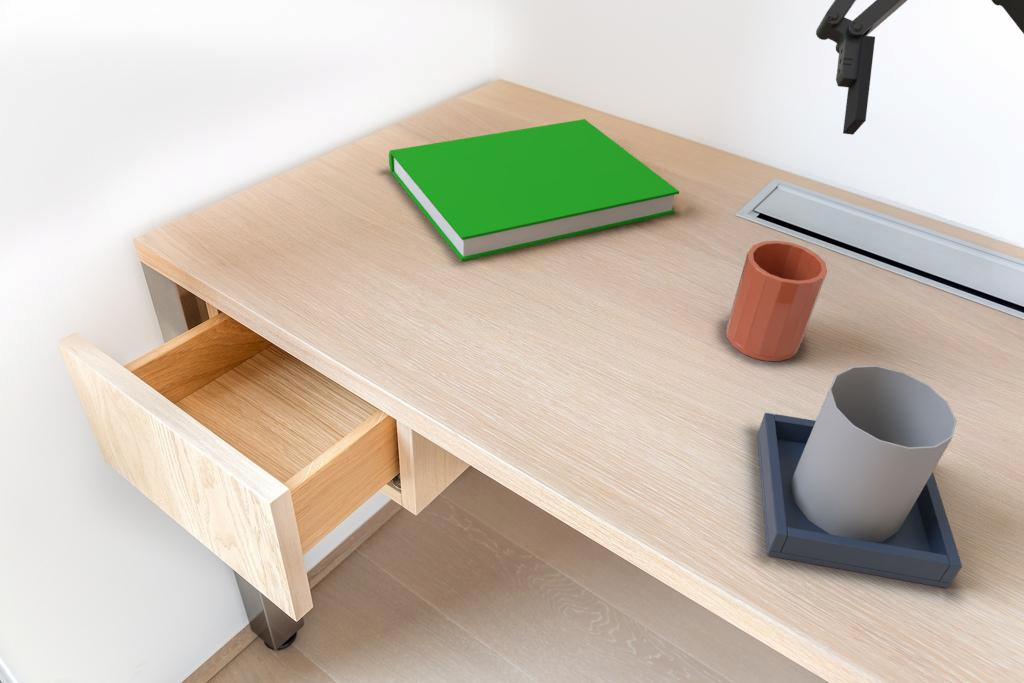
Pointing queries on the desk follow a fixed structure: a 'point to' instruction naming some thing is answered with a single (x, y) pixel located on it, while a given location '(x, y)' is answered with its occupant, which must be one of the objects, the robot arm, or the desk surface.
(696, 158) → the desk surface
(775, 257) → the tumbler
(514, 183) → the book
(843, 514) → the cup
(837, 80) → the robot arm
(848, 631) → the desk surface
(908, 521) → the tray
